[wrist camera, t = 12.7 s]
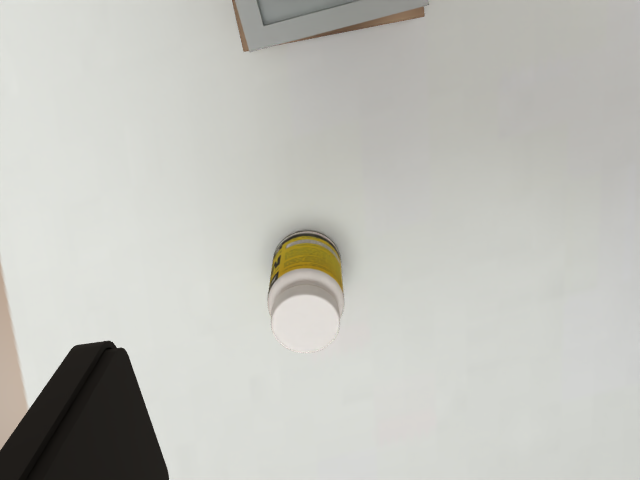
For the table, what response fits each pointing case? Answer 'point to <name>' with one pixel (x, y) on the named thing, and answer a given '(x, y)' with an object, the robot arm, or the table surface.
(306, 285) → the supplement bottle
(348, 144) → the table surface
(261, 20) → the grey block
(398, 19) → the walnut block
